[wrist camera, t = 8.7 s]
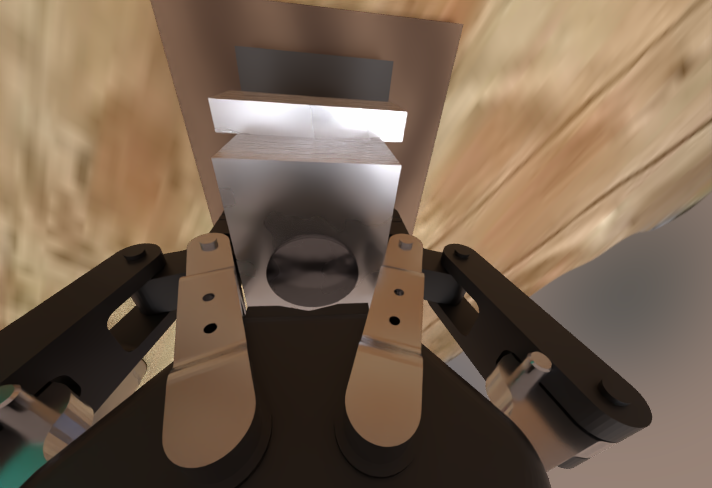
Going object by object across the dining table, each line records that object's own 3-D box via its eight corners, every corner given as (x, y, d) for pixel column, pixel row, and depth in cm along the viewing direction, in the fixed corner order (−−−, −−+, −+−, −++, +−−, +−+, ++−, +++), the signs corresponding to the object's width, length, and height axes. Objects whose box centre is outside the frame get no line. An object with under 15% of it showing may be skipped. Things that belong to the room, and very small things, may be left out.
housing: (229, 90, 10) (164, 113, 6) (391, 102, 11) (436, 129, 7) (263, 280, 16) (243, 360, 12) (367, 278, 17) (383, 352, 12)
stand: (221, 230, 27) (201, 264, 22) (159, -9, 16) (99, -34, 12) (407, 231, 29) (422, 261, 25) (454, 26, 19) (494, 16, 15)
